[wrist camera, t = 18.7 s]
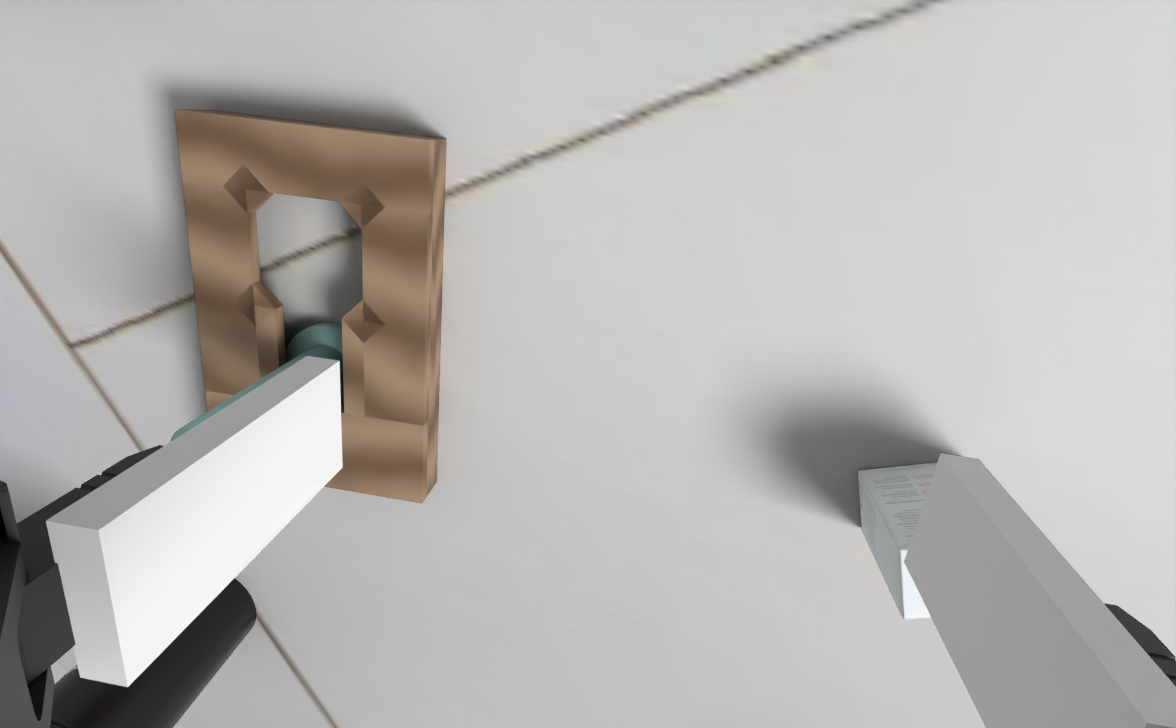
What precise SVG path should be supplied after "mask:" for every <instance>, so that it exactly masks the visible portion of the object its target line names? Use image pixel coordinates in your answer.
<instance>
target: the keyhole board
mask: <svg viewBox="0 0 1176 728" xmlns="http://www.w3.org/2000/svg"><path fill="white" fill-rule="evenodd" d="M174 110H175V119H176V129H177V138H178V147H179V156H180V165H181V174H182V183H183V193H184V202H185V211H186V220H187V229H188V238H189V248H190V257H191V266H192V275H193V284H194V293H195V302H196V312H197V321H198V330H199V339H200V348H201V357H202V367H203V376H204V385H205V394H206V403H207V412H208V411H209V410H211V409H213V408H214V407H216V406H217V405H219V404H221V403H222V402H224V401H226V400H227V399H229V398H230V397H232V396H234V395H235V394H237V393H238V392H240V391H242V390H243V389H245V388H247V387H248V386H250V385H251V384H253V383H255V382H256V381H258V380H260V379H261V378H263V377H264V376H266V375H268V374H269V373H271V372H273V371H274V370H276V369H277V368H279V367H281V366H282V365H284V364H286V351H285V335H284V318H283V304H282V303H281V302H280V301H279V300H278V299H277V298H276V297H275V296H274V294H273V293H272V292H271V291H270V290H269V289H268V288H267V287H266V286H265V285H264V283H263V282H262V281H261V279H260V265H259V251H258V237H257V223H256V211H257V210H258V209H259V208H260V207H261V206H262V205H263V204H264V203H265V202H266V201H267V200H268V199H269V198H270V197H271V196H272V195H273V194H274V193H279V194H286V195H294V196H301V197H309V198H316V199H324V200H332V201H338V202H339V203H340V204H341V206H342V207H343V208H344V209H345V210H346V211H347V212H348V214H349V215H350V216H351V217H352V218H353V219H354V221H355V222H356V223H357V224H358V225H359V226H360V228H361V229H362V280H363V300H362V301H360V302H359V303H358V304H357V305H356V306H355V307H354V308H352V309H351V310H350V311H349V312H348V313H347V314H346V315H344V316H343V317H342V318H341V319H342V346H343V382H344V407H341V428H342V462H343V468H342V469H341V470H340V471H339V472H338V473H337V474H336V475H335V476H334V477H333V478H332V479H331V480H330V481H329V482H328V483H327V484H326V485H325V486H324V487H330V488H335V489H341V490H347V491H353V492H359V493H365V494H370V495H376V496H382V497H388V498H394V499H400V500H405V501H411V502H417V503H423V501H424V500H425V498H426V497H427V495H428V494H429V492H430V491H431V489H432V488H433V486H434V485H435V483H436V482H437V448H438V413H439V378H440V344H441V309H442V274H443V239H444V205H445V170H446V139H444V138H436V137H427V136H419V135H411V134H403V133H394V132H386V131H378V130H370V129H362V128H353V127H345V126H337V125H329V124H320V123H312V122H304V121H296V120H287V119H279V118H271V117H263V116H254V115H246V114H238V113H230V112H221V111H213V110H189V109H174Z"/></svg>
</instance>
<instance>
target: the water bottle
mask: <svg viewBox="0 0 1176 728" xmlns="http://www.w3.org/2000/svg"><path fill="white" fill-rule="evenodd" d="M255 620H256V608H255V605H254V602H253V599H252V598H251V596H250V594H249V593H248V591H247V590H246V589H245V588H244V587H243V586H242V585H241V584H240V583H239V582H238V581H237V580H235V579H233V580H232V581H231V582H230V583H229V584H228V585H227V586H226V587H225V588H224V589H223V590H222V591H221V592H220V593H219V594H218V596H217V597H216V598H215V599H214V600H213V601H212V602H211V603H210V604H209V605H208V606H207V607H206V608H205V609H204V610H203V611H202V612H201V613H200V614H199V615H198V616H197V617H196V618H195V619H194V620H193V621H192V622H191V623H190V624H189V625H188V626H187V627H186V628H185V629H184V630H183V631H182V632H181V633H180V634H179V635H178V636H177V637H176V639H175V640H174V641H173V642H172V643H171V644H170V645H169V646H168V647H167V648H166V649H165V650H164V651H163V652H162V653H161V654H160V655H159V656H158V657H157V658H156V659H155V660H154V661H153V662H152V663H151V664H150V665H149V666H148V667H147V668H146V669H145V670H144V671H143V672H142V673H141V674H140V675H139V676H138V677H137V678H136V679H135V680H134V681H133V683H132V684H131V685H130V686H129V687H124V686H119V685H114V684H110V683H105V682H100V681H95V680H90V679H85V678H80V675H79V670H78V665H76V666H75V667H74V668H72V669H71V670H70V671H69V672H68V673H66V674H65V675H64V677H62V678H61V679H60V680H59V681H58V682H57V683H56V684H55V687H54V696H53V705H52V714H51V723H50V728H173V727H174V726H175V724H176V723H177V722H178V720H179V719H180V718H181V717H182V715H183V714H184V713H185V712H186V710H187V709H188V708H189V707H190V705H191V704H192V703H193V702H194V700H195V699H196V698H197V697H198V695H199V694H200V693H201V692H202V690H203V689H204V688H205V687H206V685H207V684H208V683H209V681H210V680H211V679H212V678H213V676H214V675H215V674H216V673H217V671H218V670H219V669H220V668H221V666H222V665H223V664H224V663H225V661H226V660H227V659H228V658H229V656H230V655H231V654H232V653H233V651H234V650H235V649H236V648H237V646H238V645H239V644H240V642H241V641H242V640H243V639H244V637H245V636H246V635H247V634H248V632H249V631H250V630H251V629H252V627H253V626H254V623H255Z"/></svg>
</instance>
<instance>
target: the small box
mask: <svg viewBox="0 0 1176 728" xmlns="http://www.w3.org/2000/svg"><path fill="white" fill-rule="evenodd" d="M936 465H937V462H936V463H926V464H917V465H907V466H897V467H888V468H878V469H868V470H859V471H858V479H859V495H860V511H861V525H862V532H863V534H864V536H865V538H866V540H867V543H868V545H869V547H870V549H871V551H872V553H873V556H874V558H875V560H876V562H877V564H878V566H879V569H880V571H881V573H882V575H883V577H884V579H885V581H886V584H887V586H888V588H889V590H890V592H891V594H892V597H893V599H894V601H895V603H896V605H897V607H898V609H899V611H900V614H901V615H902V617H903V619H905V620H906V619H920V618H931V616H930V614H929V612H928V610H927V608H926V606H925V604H924V602H923V600H922V598H921V596H920V594H919V592H918V590H917V588H916V586H915V583H914V581H913V579H912V577H911V575H910V573H909V571H908V569H907V567H906V565H905V563H904V560H905V557H906V554H907V551H908V548H909V545H910V542H911V539H912V536H913V533H914V530H915V527H916V524H917V521H918V518H919V515H920V512H921V509H922V506H923V503H924V500H925V498H926V495H927V492H928V489H929V486H930V483H931V480H932V477H933V474H934V471H935V468H936Z"/></svg>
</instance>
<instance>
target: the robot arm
mask: <svg viewBox="0 0 1176 728" xmlns="http://www.w3.org/2000/svg"><path fill="white" fill-rule="evenodd" d="M342 468H343V462H342V428H341V394H340V361H338V360H332V359H325V358H319V357H312V356H306V357H305V358H303V359H301V360H300V361H298V362H297V363H295V364H293V365H292V366H290V367H289V368H287V369H286V370H284V371H282V372H281V373H279V374H278V375H276V376H274V377H273V378H271V379H270V380H268V381H266V382H265V383H263V384H262V385H260V386H259V387H257V388H255V389H254V390H252V391H251V392H249V393H247V394H246V395H244V396H243V397H241V398H240V399H238V400H236V401H235V402H233V403H232V404H230V405H228V406H227V407H225V408H224V409H222V410H221V411H219V412H217V413H216V414H214V415H213V416H211V417H209V418H208V419H206V420H205V421H203V422H201V423H200V424H198V425H197V426H195V427H194V428H192V429H190V430H189V431H187V432H186V433H184V434H182V435H181V436H179V437H178V438H176V439H175V440H173V441H171V442H170V443H168V444H167V445H165V446H161V445H159V446H156V447H153V448H150V449H147V450H145V451H142V452H139V453H136V454H133V455H131V456H128V457H126V458H124V459H123V460H121V461H119V462H118V463H116V464H114V465H113V466H111V467H110V468H108V469H106V470H105V471H103V472H102V475H96V476H95V477H93V478H91V479H90V480H88V481H87V482H85V483H83V484H82V485H81V488H75V489H73V490H72V491H70V492H68V493H67V494H65V495H63V496H62V497H60V498H59V499H57V500H55V501H54V502H52V503H50V504H49V505H47V506H45V507H44V508H42V509H40V510H39V511H37V512H36V513H34V514H32V515H31V516H29V517H27V518H26V519H24V520H22V521H21V522H19V523H17V524H16V520H15V516H14V512H13V508H12V503H11V499H10V495H9V491H8V487H7V484H6V483H4V482H2V481H0V728H50V723H51V714H52V705H53V696H54V687H55V683H54V679H53V675H52V671H51V665H52V664H53V663H55V662H56V661H57V660H58V659H59V658H60V657H61V656H63V655H64V654H65V653H66V652H67V651H68V650H70V649H71V648H72V647H74V652H75V656H76V661H77V665H78V670H79V675H80V678H85V679H90V680H95V681H100V682H105V683H110V684H114V685H119V686H124V687H129V686H130V685H131V684H132V683H133V681H134V680H135V679H136V678H137V677H138V676H139V675H140V674H141V673H142V672H143V671H144V670H145V669H146V668H147V667H148V666H149V665H150V664H151V663H152V662H153V661H154V660H155V659H156V658H157V657H158V656H159V655H160V654H161V653H162V652H163V651H164V650H165V649H166V648H167V647H168V646H169V645H170V644H171V643H172V642H173V641H174V640H175V639H176V637H177V636H178V635H179V634H180V633H181V632H182V631H183V630H184V629H185V628H186V627H187V626H188V625H189V624H190V623H191V622H192V621H193V620H194V619H195V618H196V617H197V616H198V615H199V614H200V613H201V612H202V611H203V610H204V609H205V608H206V607H207V606H208V605H209V604H210V603H211V602H212V601H213V600H214V599H215V598H216V597H217V596H218V594H219V593H220V592H221V591H222V590H223V589H224V588H225V587H226V586H227V585H228V584H229V583H230V582H231V581H232V580H233V579H234V578H235V577H236V576H237V575H238V574H239V573H240V572H241V571H242V570H243V569H244V568H245V567H246V566H247V565H248V564H249V563H250V562H251V561H252V560H253V559H254V558H255V557H256V556H257V555H258V554H259V553H260V551H261V550H262V549H263V548H264V547H265V546H266V545H267V544H268V543H269V542H270V541H271V540H272V539H273V538H274V537H275V536H276V535H277V534H278V533H279V532H280V531H281V530H282V529H283V528H284V527H285V526H286V525H287V524H288V523H289V522H290V521H291V520H292V519H293V518H294V517H295V516H296V515H297V514H298V513H299V512H300V511H301V510H302V509H303V507H304V506H305V505H306V504H307V503H308V502H309V501H310V500H311V499H312V498H313V497H314V496H315V495H316V494H317V493H318V492H319V491H320V490H321V489H322V488H323V487H324V486H325V485H326V484H327V483H328V482H329V481H330V480H331V479H332V478H333V477H334V476H335V475H336V474H337V473H338V472H339V471H340V470H341V469H342ZM904 563H905V565H906V567H907V569H908V571H909V573H910V575H911V577H912V579H913V581H914V583H915V586H916V588H917V590H918V592H919V594H920V596H921V598H922V600H923V602H924V604H925V606H926V608H927V610H928V612H929V614H930V616H931V618H932V620H933V622H934V624H935V626H936V628H937V630H938V632H939V634H940V636H941V638H942V640H943V642H944V644H945V646H946V648H947V650H948V652H949V654H950V656H951V658H952V660H953V662H954V664H955V666H956V668H957V670H958V672H959V674H960V676H961V678H962V680H963V682H964V684H965V686H966V688H967V690H968V692H969V694H970V696H971V698H972V700H973V702H974V704H975V706H976V708H977V710H978V712H979V714H980V716H981V719H982V721H983V723H984V725H985V727H986V728H1176V661H1175V658H1176V657H1175V656H1174V655H1173V654H1172V653H1171V652H1170V651H1169V650H1168V648H1167V647H1166V646H1165V645H1164V644H1163V643H1162V642H1161V641H1160V640H1159V639H1158V637H1157V636H1156V635H1155V634H1154V633H1153V632H1152V631H1151V630H1150V629H1148V628H1147V627H1146V626H1144V625H1143V624H1142V623H1140V622H1139V621H1137V620H1136V619H1135V618H1133V617H1132V616H1131V615H1129V614H1128V613H1127V612H1125V611H1124V610H1122V609H1121V608H1120V607H1118V606H1117V605H1111V604H1105V603H1103V602H1102V601H1101V600H1100V599H1099V597H1098V596H1097V595H1096V594H1095V593H1094V592H1093V591H1092V589H1091V588H1090V587H1089V586H1088V585H1087V584H1086V582H1085V581H1084V580H1083V579H1082V578H1081V577H1080V576H1079V574H1078V573H1077V572H1076V571H1075V570H1074V569H1073V567H1072V566H1071V565H1070V564H1069V563H1068V562H1067V561H1066V559H1065V558H1064V557H1063V556H1062V555H1061V554H1060V552H1059V551H1058V550H1057V549H1056V548H1055V547H1054V545H1053V544H1052V543H1051V542H1050V541H1049V540H1048V539H1047V537H1046V536H1045V535H1044V534H1043V533H1042V532H1041V530H1040V529H1039V528H1038V527H1037V526H1036V525H1035V524H1034V522H1033V521H1032V520H1031V519H1030V518H1029V517H1028V515H1027V514H1026V513H1025V512H1024V511H1023V510H1022V509H1021V507H1020V506H1019V505H1018V504H1017V503H1016V502H1015V500H1014V499H1013V498H1012V497H1011V496H1010V495H1009V494H1008V492H1007V491H1006V490H1005V489H1004V488H1003V487H1002V485H1001V484H1000V483H999V482H998V481H997V480H996V478H995V477H994V476H993V475H992V474H991V473H990V472H989V470H988V469H987V468H986V467H985V466H984V465H983V463H982V462H981V461H980V460H979V459H975V458H969V457H962V456H956V455H949V454H943V453H940V456H939V459H938V462H937V465H936V468H935V471H934V474H933V477H932V480H931V483H930V486H929V489H928V492H927V495H926V498H925V500H924V503H923V506H922V509H921V512H920V515H919V518H918V521H917V524H916V527H915V530H914V533H913V536H912V539H911V542H910V545H909V548H908V551H907V554H906V557H905V560H904Z"/></svg>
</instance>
